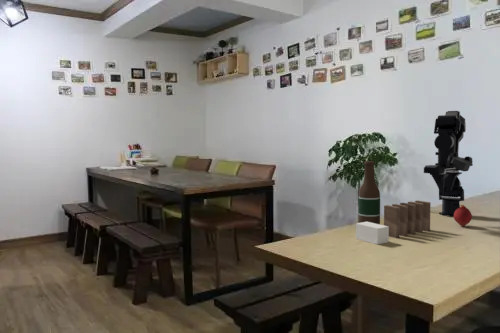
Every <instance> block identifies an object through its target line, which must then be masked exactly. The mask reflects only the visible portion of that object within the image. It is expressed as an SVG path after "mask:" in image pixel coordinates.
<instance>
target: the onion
mask: <svg viewBox="0 0 500 333" xmlns="http://www.w3.org/2000/svg"><path fill="white" fill-rule="evenodd" d="M472 218H473V216H472V212H471V210H470V209H469V208H467V207H466V206H465V205H464V204H461V203H460V207H459V208H458V209H457V210H456V211H455V212H454V216H453V219H454V221H455V222H456V223H457V224H458V225H459V226H460V227H465V226H467V225H469V223H470V222H471V221H472Z"/></svg>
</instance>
